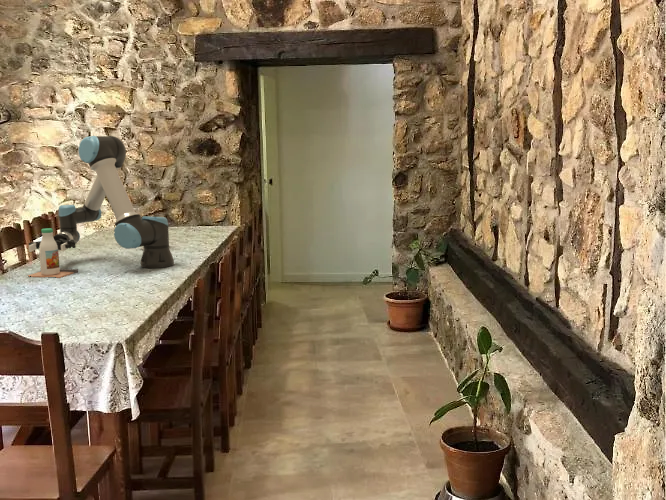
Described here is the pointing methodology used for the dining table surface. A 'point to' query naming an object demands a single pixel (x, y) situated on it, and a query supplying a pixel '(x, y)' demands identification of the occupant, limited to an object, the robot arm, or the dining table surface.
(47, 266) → the milk bottle
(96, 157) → the robot arm
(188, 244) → the dining table surface
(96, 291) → the dining table surface
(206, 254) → the dining table surface
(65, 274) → the tile
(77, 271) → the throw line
